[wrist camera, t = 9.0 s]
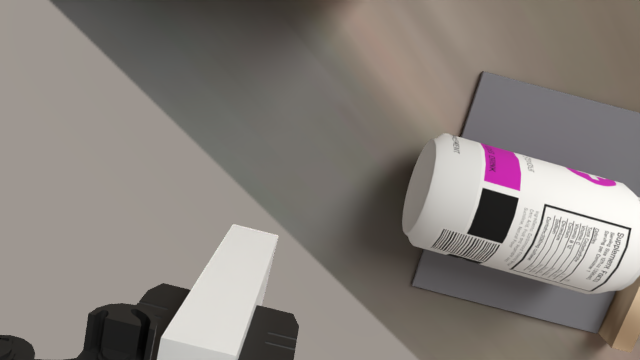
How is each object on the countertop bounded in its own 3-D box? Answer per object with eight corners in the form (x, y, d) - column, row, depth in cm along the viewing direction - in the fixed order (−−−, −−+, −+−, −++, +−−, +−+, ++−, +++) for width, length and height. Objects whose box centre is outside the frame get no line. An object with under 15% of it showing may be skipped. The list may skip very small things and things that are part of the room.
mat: (482, 71, 38) (483, 71, 37) (686, 125, 38) (689, 126, 38) (411, 283, 42) (412, 285, 42) (594, 331, 42) (596, 333, 42)
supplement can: (448, 112, 33) (666, 174, 33) (413, 152, 41) (590, 201, 41) (423, 232, 31) (658, 297, 31) (392, 249, 38) (579, 301, 39)
